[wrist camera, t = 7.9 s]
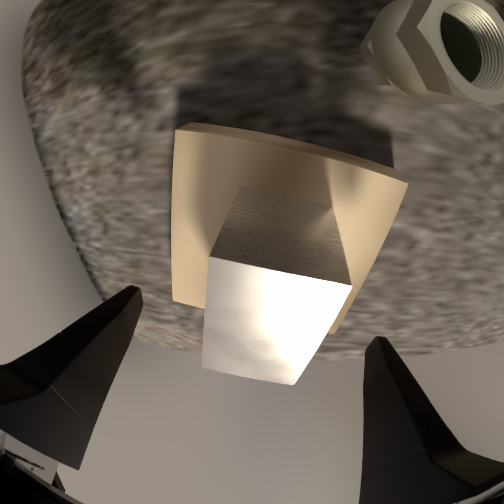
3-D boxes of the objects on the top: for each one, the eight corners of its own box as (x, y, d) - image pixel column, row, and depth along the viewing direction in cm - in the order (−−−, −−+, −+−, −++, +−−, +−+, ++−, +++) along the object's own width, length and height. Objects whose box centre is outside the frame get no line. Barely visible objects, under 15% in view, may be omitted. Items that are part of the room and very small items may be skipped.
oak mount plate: (394, 168, 12) (408, 183, 10) (331, 310, 18) (333, 333, 16) (191, 121, 12) (175, 129, 10) (183, 279, 18) (172, 300, 16)
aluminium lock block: (332, 206, 11) (351, 286, 7) (296, 304, 15) (293, 385, 11) (240, 186, 11) (209, 256, 7) (224, 289, 15) (201, 367, 11)
